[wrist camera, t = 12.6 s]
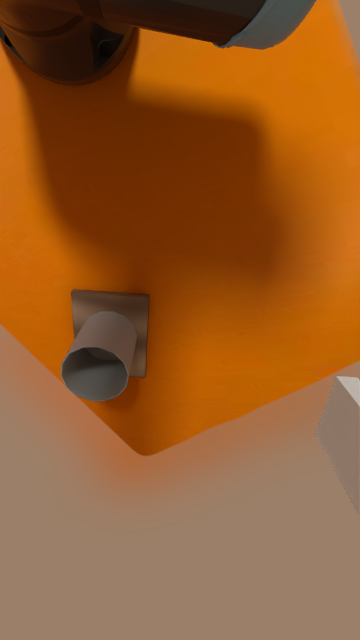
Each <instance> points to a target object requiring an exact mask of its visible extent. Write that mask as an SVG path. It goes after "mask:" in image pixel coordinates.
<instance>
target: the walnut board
mask: <svg viewBox="0 0 360 640" xmlns="http://www.w3.org/2000/svg"><path fill="white" fill-rule="evenodd" d="M71 298H72V312H73V326H74V340H75V339H76V337H77V335H78V333H79V332H80V330H81V328H82V326H83V325H84V323H85V322H86V321H87V319H88V318H89V317H90V316H92V315H94V314H96V313H98V312H106V311H113V312H116V313H118V314H121V315H123V316H125V317H126V318H127V319H128V320H129V321H130V322H131V323H132V324H133V325H134V328H135V330H136V333H137V340H136V345H135V350H134V355H133V359H132V364H131V369H130V374H129V376H135V377H145V373H146V352H147V330H148V308H149V295H146V294H132V293H118V292H104V291H90V290H76V289H73V291H72V292H71Z"/></svg>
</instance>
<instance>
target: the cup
mask: <svg viewBox="0 0 360 640" xmlns="http://www.w3.org/2000/svg"><path fill="white" fill-rule="evenodd" d="M136 340H137V333H136V330H135V328H134V325H133V324H132V323H131V322H130V321H129V320H128V319H127V318H126V317H125V316H123V315H121V314H118V313H116V312H113V311H106V312H98V313H96V314H94V315H92V316H90V317H89V318H88V319H87V321H86V322H85V323H84V325H83V326H82V328H81V330H80V332H79V333H78V335H77V337H76V339H75V340H74V342H73V344H72V346H71V347H70V349H69V351H68V353H67V355H66V356H65V358H64V360H63V362H62V363H61V377H62V379H63V381H64V383H65V385H66V387H67V388H68V389H69V390H70V391H71V392H73V393H74V394H75V395H76V396H78V397H80V398H83V399H86V400H89V401H107V400H110V399H112V398H115V397H117V396H119V395H120V394H121V392H122V391H123V390H124V389H125V388H126V387H127V383H128V378H129V374H130V369H131V364H132V359H133V355H134V350H135V345H136Z"/></svg>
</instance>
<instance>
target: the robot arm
mask: <svg viewBox="0 0 360 640" xmlns="http://www.w3.org/2000/svg"><path fill="white" fill-rule="evenodd" d="M315 2H316V0H0V39H1V40H2V41H3V43H4V44H5V45H6V46H7V48H8V49H9V50H10V51H11V52H12V53H13V54H14V55H15V56H16V57H17V58H18V59H19V60H20V61H21V62H22V63H23V64H25V65H26V66H27V67H29V68H30V69H32V70H33V71H35V72H36V73H37V74H39V75H41V76H42V77H44V78H46V79H48V80H51V81H53V82H56V83H60V84H64V85H84V84H89V83H92V82H95V81H97V80H99V79H101V78H103V77H104V76H106V75H107V74H108V73H109V72H111V71H112V70H113V69H114V68H115V67H116V66H117V64H118V63H119V62H120V61H121V59H122V58H123V56H124V55H125V53H126V51H127V49H128V47H129V45H130V42H131V40H132V37H133V33H134V30H135V27H137V28H142V29H147V30H152V31H157V32H162V33H167V34H172V35H177V36H182V37H187V38H192V39H197V40H202V41H207V42H212V43H213V44H214V45H215V46H216V47H219V48H224V47H227V48H229V47H232V46H237V47H245V48H252V49H260V50H262V49H266V48H270V47H274V46H275V45H277V44H279V43H281V42H283V41H284V40H285V39H286V38H287V37H288V36H290V35H291V34H292V33H293V32H294V30H295V29H296V28H297V27H298V26H299V25H300V23H301V22H302V21H303V20H304V18H305V17H306V15H307V14H308V13H309V11H310V10H311V8H312V7H313V5H314V3H315ZM315 434H316V436H317V438H318V440H319V442H320V444H321V445H322V447H323V449H324V451H325V453H326V455H327V457H328V459H329V461H330V462H331V464H332V466H333V468H334V470H335V472H336V474H337V476H338V478H339V480H340V482H341V483H342V485H343V487H344V489H345V491H346V493H347V495H348V497H349V499H350V500H351V502H352V504H353V506H354V508H355V510H356V512H357V514H358V516H359V517H360V380H359V379H358V378H356V377H340V376H337V377H336V379H335V381H334V384H333V387H332V389H331V392H330V395H329V398H328V400H327V403H326V406H325V408H324V411H323V414H322V417H321V419H320V422H319V425H318V428H317V430H316V433H315Z"/></svg>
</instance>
